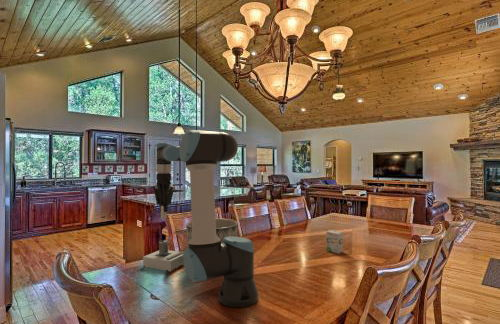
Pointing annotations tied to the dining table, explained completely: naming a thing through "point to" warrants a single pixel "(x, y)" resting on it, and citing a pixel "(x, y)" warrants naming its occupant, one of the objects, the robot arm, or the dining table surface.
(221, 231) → the planter
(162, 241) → the metal cylinder
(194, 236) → the robot arm
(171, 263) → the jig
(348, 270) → the dining table surface
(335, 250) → the ink box
